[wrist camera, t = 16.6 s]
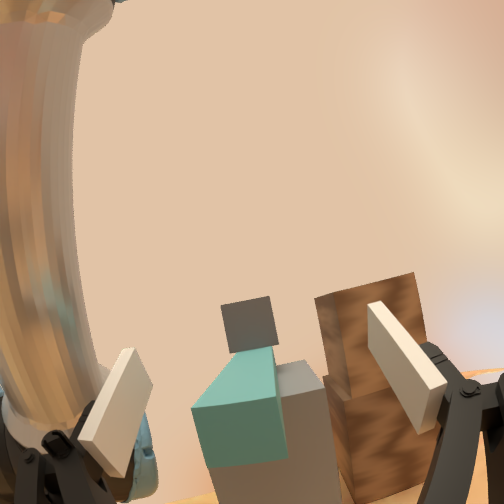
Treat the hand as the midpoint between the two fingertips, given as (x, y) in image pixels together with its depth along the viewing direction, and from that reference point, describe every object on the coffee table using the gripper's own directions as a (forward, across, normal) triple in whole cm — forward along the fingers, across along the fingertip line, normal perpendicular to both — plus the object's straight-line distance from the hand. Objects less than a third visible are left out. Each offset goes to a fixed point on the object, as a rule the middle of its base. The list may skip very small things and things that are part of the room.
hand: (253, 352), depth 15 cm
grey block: (-1, -1, -29) cm, 29 cm away
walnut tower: (+8, +13, -34) cm, 37 cm away
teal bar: (+5, -1, -8) cm, 10 cm away
